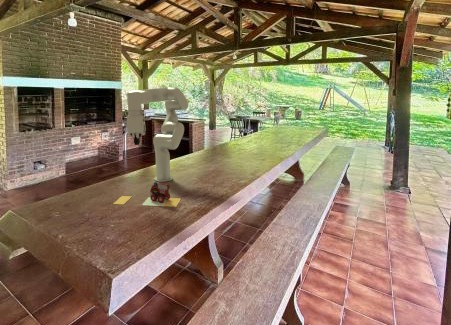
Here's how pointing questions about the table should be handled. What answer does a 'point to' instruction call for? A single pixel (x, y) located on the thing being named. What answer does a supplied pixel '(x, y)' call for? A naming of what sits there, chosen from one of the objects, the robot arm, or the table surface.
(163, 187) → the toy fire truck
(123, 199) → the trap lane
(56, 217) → the table surface
